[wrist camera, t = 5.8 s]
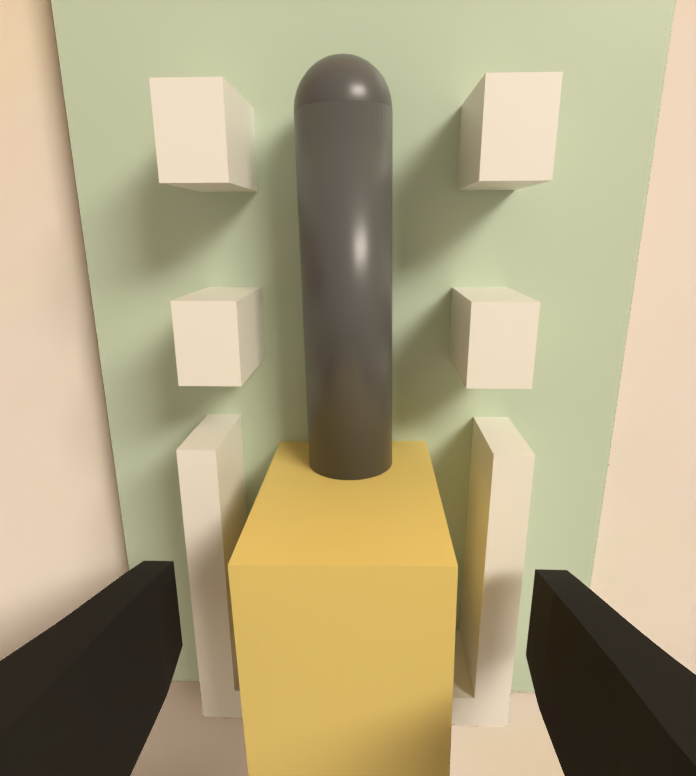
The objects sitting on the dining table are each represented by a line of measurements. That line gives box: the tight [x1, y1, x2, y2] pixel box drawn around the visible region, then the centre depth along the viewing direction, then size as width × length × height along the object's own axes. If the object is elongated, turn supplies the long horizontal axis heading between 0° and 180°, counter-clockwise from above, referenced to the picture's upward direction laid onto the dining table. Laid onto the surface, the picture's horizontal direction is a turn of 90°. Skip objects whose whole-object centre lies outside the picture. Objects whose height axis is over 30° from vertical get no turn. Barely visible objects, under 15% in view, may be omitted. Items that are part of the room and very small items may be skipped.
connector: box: [228, 54, 458, 776], centre depth 10 cm, size 12×4×5 cm, turn 1°
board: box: [51, 0, 676, 727], centre depth 11 cm, size 20×12×3 cm, turn 0°
